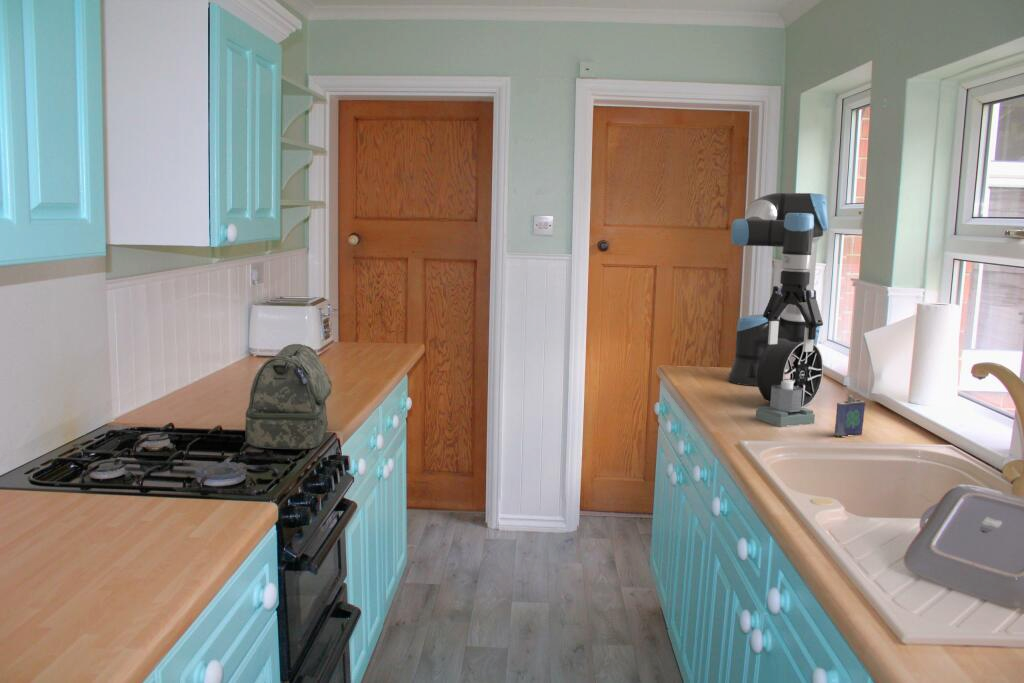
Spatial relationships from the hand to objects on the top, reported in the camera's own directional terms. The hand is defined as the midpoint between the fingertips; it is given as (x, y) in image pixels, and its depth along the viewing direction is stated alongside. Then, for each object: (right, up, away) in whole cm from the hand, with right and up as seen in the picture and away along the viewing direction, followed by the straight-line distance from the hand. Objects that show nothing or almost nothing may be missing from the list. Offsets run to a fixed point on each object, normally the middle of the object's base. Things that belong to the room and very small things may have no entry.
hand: (789, 347), depth 233 cm
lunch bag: (-130, -22, -28) cm, 135 cm away
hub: (0, -17, +2) cm, 17 cm away
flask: (+12, -23, -11) cm, 28 cm away
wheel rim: (+7, -18, +24) cm, 31 cm away
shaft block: (-1, -20, +3) cm, 21 cm away
